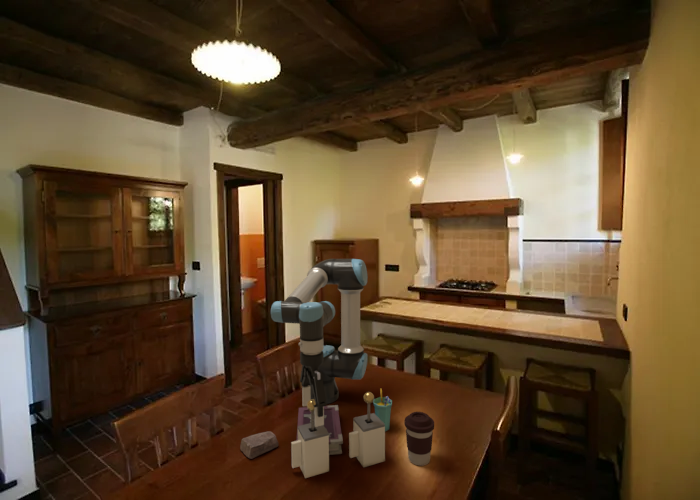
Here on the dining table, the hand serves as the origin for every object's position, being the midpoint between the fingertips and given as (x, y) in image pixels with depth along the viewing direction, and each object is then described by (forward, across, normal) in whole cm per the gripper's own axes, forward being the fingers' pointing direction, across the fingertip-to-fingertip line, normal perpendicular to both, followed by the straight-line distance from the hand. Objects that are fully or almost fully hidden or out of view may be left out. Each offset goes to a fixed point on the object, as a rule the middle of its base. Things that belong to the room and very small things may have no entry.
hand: (312, 414), depth 116 cm
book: (+18, -17, +8) cm, 26 cm away
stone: (+18, -18, -14) cm, 29 cm away
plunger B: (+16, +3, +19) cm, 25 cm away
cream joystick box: (+18, 0, -2) cm, 18 cm away
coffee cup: (+18, +11, +34) cm, 40 cm away
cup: (+18, -10, +32) cm, 38 cm away
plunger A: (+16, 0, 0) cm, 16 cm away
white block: (+18, +3, +17) cm, 25 cm away
